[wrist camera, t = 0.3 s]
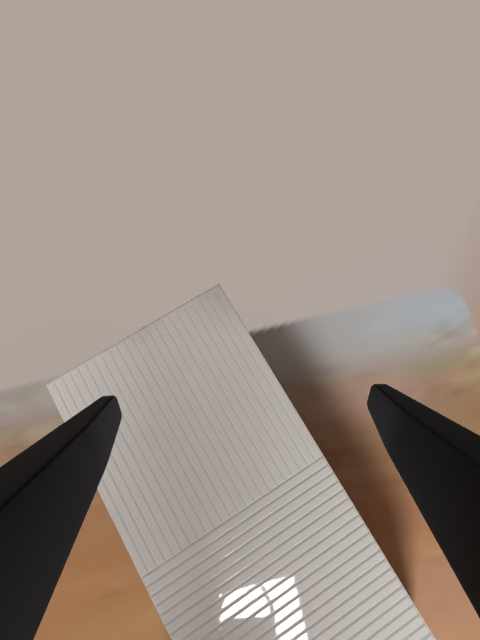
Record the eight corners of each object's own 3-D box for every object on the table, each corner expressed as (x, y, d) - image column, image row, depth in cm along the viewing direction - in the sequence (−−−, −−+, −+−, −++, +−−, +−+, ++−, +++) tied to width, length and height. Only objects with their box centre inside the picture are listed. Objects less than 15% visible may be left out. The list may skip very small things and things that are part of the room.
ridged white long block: (413, 622, 21) (602, 913, 10) (312, 699, 20) (400, 1108, 9) (226, 313, 24) (219, 283, 13) (133, 368, 23) (45, 384, 12)
